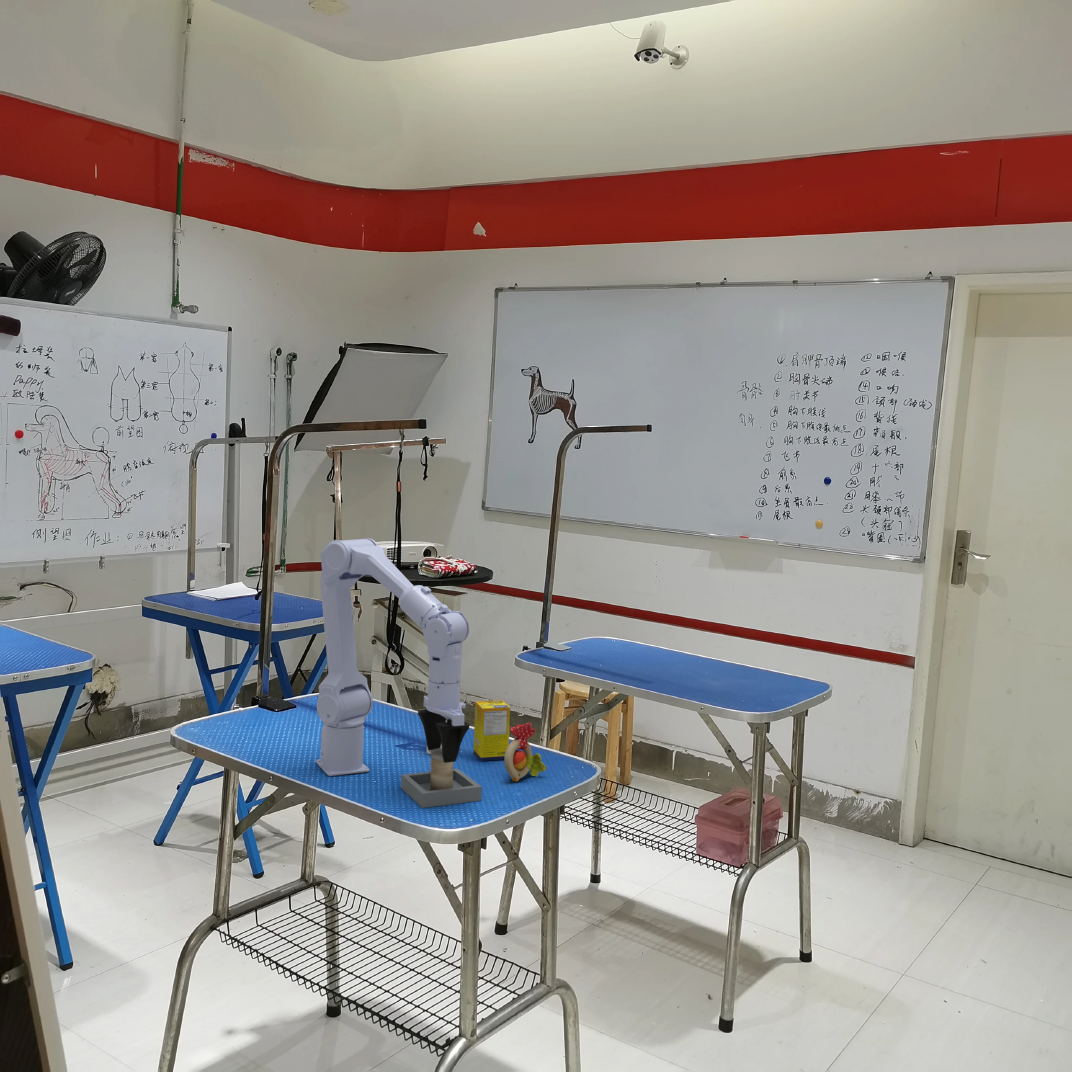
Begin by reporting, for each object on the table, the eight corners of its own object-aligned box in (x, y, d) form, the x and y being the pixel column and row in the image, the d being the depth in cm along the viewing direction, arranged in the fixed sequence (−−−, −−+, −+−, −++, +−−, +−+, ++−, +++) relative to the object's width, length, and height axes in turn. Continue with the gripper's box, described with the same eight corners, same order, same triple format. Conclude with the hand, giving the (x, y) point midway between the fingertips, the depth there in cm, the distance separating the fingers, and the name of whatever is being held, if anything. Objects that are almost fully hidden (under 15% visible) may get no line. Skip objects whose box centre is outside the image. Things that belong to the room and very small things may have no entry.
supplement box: (500, 751, 207) (502, 699, 206) (508, 760, 202) (510, 706, 201) (472, 753, 205) (474, 700, 205) (480, 761, 200) (482, 707, 199)
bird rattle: (529, 795, 187) (553, 766, 194) (517, 747, 182) (542, 719, 189) (501, 789, 190) (526, 760, 197) (489, 741, 186) (515, 713, 192)
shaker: (426, 787, 180) (427, 749, 180) (447, 785, 182) (448, 747, 181) (435, 794, 177) (436, 755, 176) (456, 791, 178) (457, 753, 178)
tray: (401, 788, 182) (401, 774, 181) (457, 781, 187) (457, 768, 186) (422, 808, 172) (422, 793, 172) (481, 800, 177) (481, 786, 177)
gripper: (481, 688, 173) (478, 765, 174) (450, 670, 186) (447, 742, 187) (443, 690, 170) (440, 769, 171) (414, 672, 183) (411, 745, 184)
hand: (441, 755), depth 179 cm, fingers open, 7 cm apart
